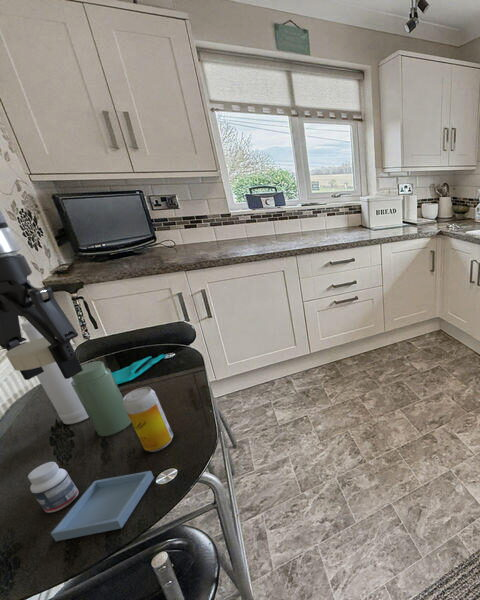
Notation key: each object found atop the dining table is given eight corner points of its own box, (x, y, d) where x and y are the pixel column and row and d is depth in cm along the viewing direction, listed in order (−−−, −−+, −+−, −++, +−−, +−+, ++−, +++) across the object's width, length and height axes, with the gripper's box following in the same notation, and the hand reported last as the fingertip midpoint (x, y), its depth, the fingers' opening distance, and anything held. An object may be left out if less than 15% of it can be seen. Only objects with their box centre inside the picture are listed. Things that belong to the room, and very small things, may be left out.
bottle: (56, 422, 92) (0, 327, 81) (87, 404, 99) (40, 314, 88) (74, 426, 90) (19, 329, 79) (105, 407, 97) (59, 316, 86)
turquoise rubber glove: (74, 401, 101) (71, 395, 100) (76, 383, 111) (73, 378, 110) (172, 366, 117) (169, 360, 116) (166, 353, 127) (164, 348, 126)
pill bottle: (42, 505, 67) (20, 473, 64) (75, 485, 71) (56, 455, 68) (48, 518, 64) (25, 485, 61) (82, 497, 68) (63, 465, 65)
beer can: (144, 443, 81) (120, 394, 76) (172, 430, 85) (152, 382, 80) (145, 457, 77) (121, 406, 72) (175, 443, 80) (154, 393, 75)
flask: (90, 438, 85) (57, 378, 78) (110, 418, 92) (81, 362, 85) (122, 433, 86) (92, 373, 79) (139, 414, 93) (113, 357, 86)
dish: (55, 541, 60) (50, 533, 59) (98, 487, 70) (94, 480, 69) (121, 528, 61) (117, 520, 60) (154, 477, 71) (150, 470, 71)
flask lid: (11, 363, 60) (2, 349, 59) (68, 344, 66) (61, 331, 64) (18, 375, 55) (9, 359, 54) (78, 353, 61) (71, 339, 60)
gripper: (-97, 267, 51) (-18, 388, 59) (16, 259, 49) (83, 386, 57) (-34, 256, 58) (29, 365, 66) (68, 248, 56) (120, 362, 64)
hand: (54, 374), depth 62 cm, fingers closed on flask lid, 8 cm apart
